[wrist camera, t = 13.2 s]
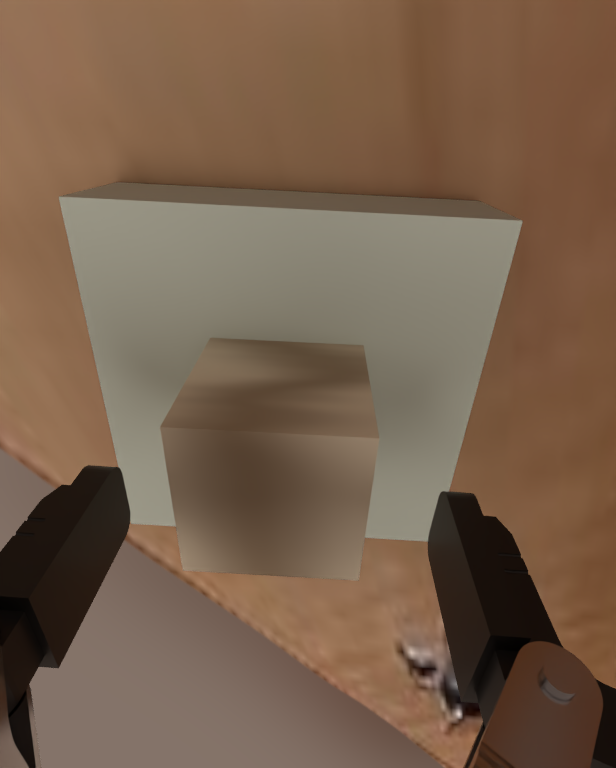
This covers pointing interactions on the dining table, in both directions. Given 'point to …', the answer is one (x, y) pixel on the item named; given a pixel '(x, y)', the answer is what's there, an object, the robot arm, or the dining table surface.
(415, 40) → the dining table surface
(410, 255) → the plate
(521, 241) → the dining table surface
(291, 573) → the maple cube
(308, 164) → the dining table surface
